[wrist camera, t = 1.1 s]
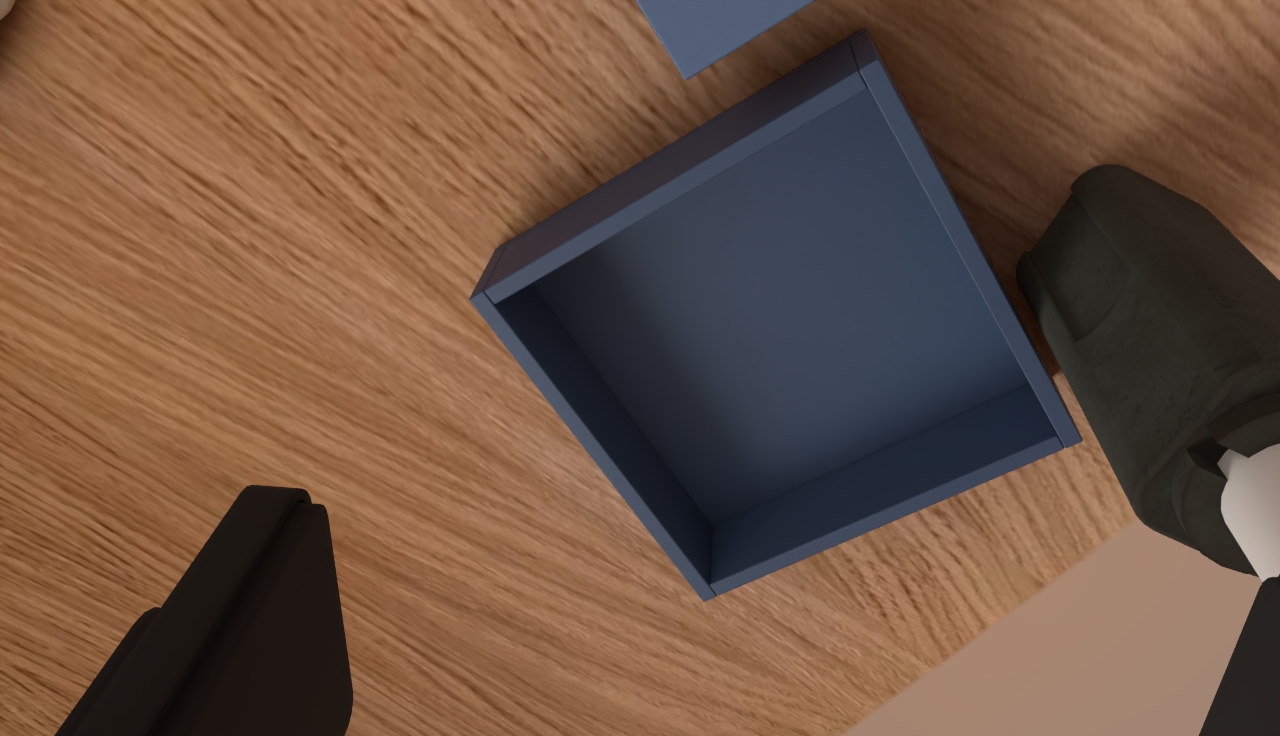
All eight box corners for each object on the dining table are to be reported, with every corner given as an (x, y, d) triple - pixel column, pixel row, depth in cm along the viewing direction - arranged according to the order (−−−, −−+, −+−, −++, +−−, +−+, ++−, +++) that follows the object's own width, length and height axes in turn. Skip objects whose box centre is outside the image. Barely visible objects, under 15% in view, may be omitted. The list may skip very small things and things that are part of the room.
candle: (1129, 344, 37) (1676, 1187, 15) (1001, 283, 36) (1380, 1073, 14) (1230, 219, 34) (2061, 1012, 12) (1095, 151, 33) (1726, 863, 12)
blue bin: (865, 26, 32) (878, 58, 29) (1052, 378, 38) (1083, 441, 34) (494, 249, 37) (468, 299, 34) (707, 533, 42) (703, 602, 39)
